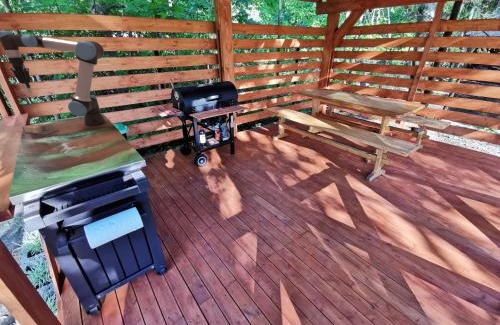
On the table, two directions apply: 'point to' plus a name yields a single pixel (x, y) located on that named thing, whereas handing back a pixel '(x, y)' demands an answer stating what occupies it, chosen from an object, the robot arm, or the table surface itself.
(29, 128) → the slab
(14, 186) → the table surface
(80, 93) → the robot arm
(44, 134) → the mat
